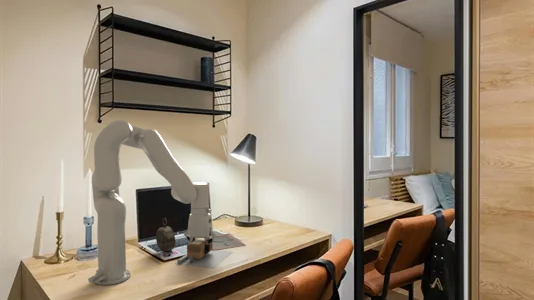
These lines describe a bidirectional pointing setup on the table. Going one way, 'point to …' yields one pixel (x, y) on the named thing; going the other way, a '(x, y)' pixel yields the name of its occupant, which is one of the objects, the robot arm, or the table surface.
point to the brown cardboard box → (197, 248)
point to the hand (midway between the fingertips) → (200, 251)
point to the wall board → (205, 259)
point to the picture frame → (226, 242)
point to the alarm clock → (165, 238)
